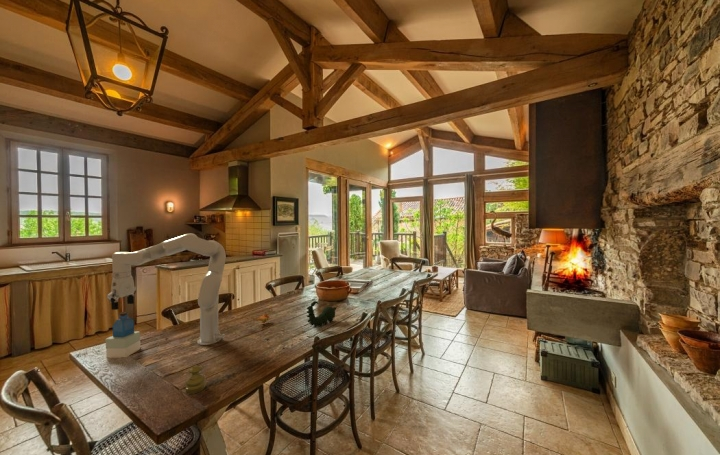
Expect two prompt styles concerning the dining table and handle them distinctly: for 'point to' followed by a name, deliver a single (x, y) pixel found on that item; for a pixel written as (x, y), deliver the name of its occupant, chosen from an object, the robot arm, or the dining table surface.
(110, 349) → the bottom block
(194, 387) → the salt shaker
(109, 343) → the top block
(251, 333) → the dining table surface
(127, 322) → the perfume bottle
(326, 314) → the toy figurine
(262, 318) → the magic lamp
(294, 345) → the dining table surface
